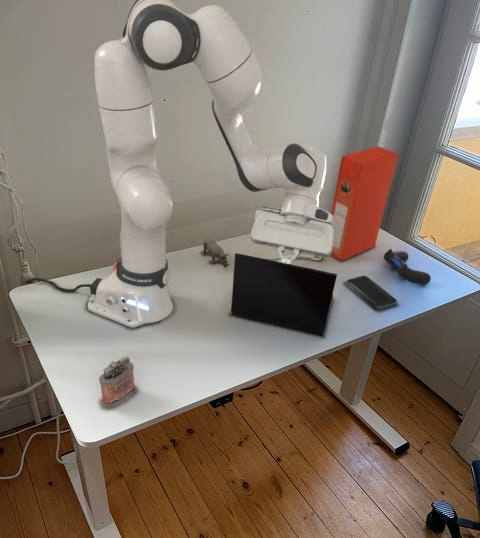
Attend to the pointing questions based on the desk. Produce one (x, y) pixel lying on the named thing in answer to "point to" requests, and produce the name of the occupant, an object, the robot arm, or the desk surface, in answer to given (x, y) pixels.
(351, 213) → the file binder
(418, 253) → the desk surface
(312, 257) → the scissors
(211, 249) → the rhino figurine
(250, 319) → the laptop
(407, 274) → the gaming controller
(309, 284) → the laptop screen
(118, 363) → the lighter
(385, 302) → the phone
